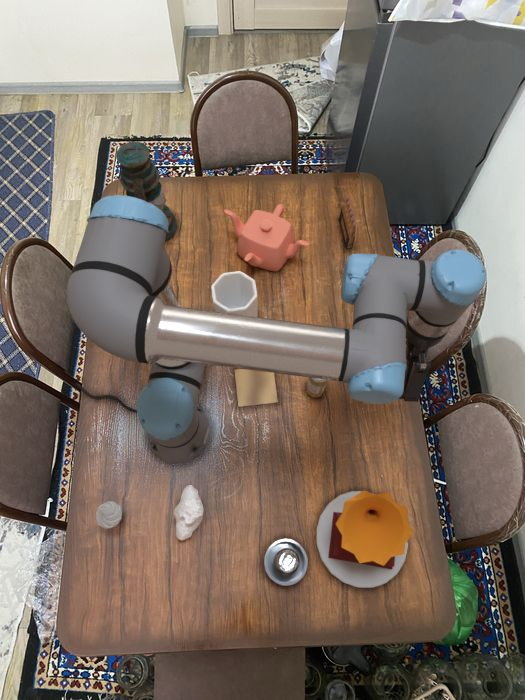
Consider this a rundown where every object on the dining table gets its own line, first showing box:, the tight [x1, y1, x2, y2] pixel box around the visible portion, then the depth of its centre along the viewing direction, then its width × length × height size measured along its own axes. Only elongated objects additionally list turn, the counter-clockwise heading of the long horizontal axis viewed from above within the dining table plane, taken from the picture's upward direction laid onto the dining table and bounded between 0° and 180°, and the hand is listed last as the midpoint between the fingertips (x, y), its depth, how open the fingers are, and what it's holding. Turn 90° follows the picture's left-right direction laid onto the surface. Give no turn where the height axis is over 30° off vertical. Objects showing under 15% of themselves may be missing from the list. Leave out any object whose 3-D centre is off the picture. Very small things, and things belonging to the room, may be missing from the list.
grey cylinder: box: [263, 538, 309, 587], centre depth 113 cm, size 9×9×6 cm
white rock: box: [173, 484, 205, 541], centre depth 115 cm, size 12×8×11 cm
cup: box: [210, 270, 259, 317], centre depth 130 cm, size 11×11×18 cm
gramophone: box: [315, 489, 414, 589], centre depth 106 cm, size 20×20×25 cm
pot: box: [223, 203, 310, 272], centre depth 142 cm, size 18×17×12 cm
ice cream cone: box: [94, 500, 123, 529], centre depth 112 cm, size 6×6×15 cm
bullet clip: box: [338, 193, 358, 250], centre depth 145 cm, size 11×2×12 cm, turn 8°
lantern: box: [115, 141, 178, 244], centre depth 137 cm, size 19×14×30 cm
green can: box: [274, 548, 299, 575], centre depth 110 cm, size 5×5×12 cm
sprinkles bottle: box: [305, 377, 328, 398], centre depth 125 cm, size 5×5×14 cm
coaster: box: [233, 368, 279, 408], centre depth 132 cm, size 10×10×1 cm
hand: (396, 365), depth 105 cm, fingers open, 13 cm apart
